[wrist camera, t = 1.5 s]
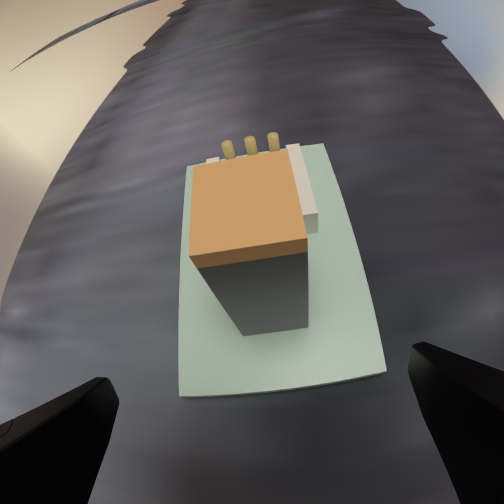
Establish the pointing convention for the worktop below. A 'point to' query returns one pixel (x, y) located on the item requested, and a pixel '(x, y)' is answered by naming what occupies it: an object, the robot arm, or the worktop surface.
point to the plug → (252, 241)
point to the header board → (320, 302)
